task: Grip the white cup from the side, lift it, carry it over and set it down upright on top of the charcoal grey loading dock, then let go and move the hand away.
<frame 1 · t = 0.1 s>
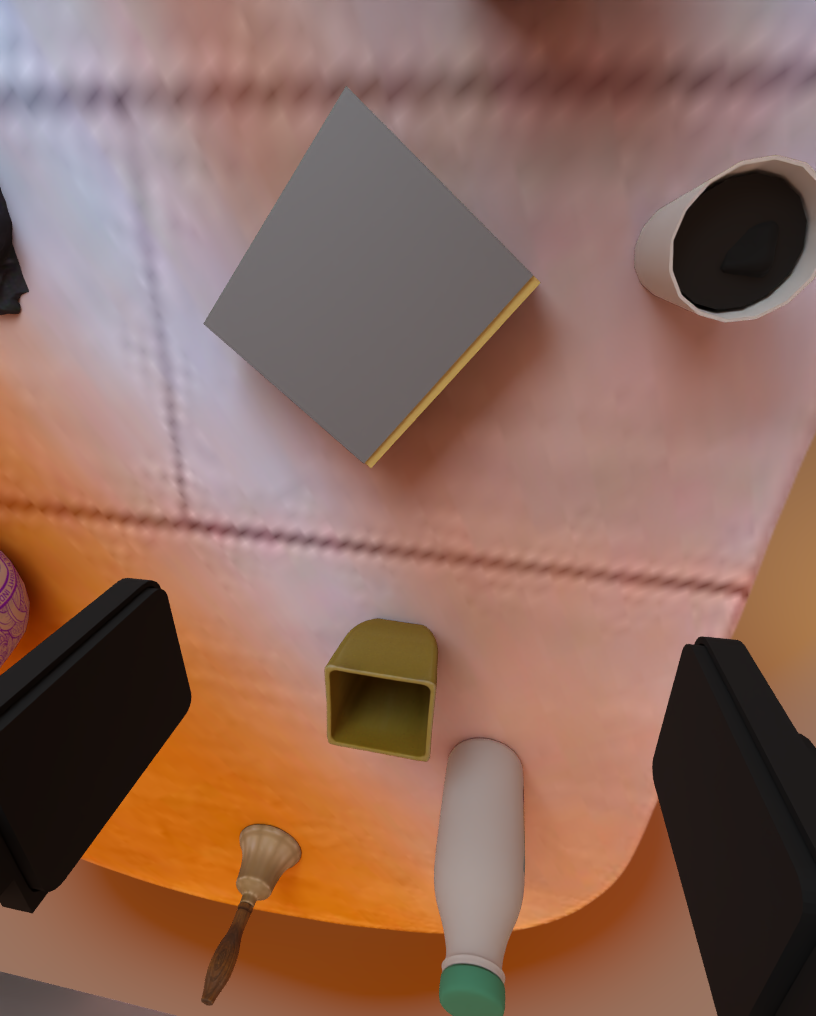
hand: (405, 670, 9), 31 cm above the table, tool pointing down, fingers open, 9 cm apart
loading dock: (375, 296, 37), on the table
white cup: (682, 249, 32), on the table
milk bottle: (485, 760, 54), on the table
hand bell: (271, 843, 67), on the table
flower pot: (400, 641, 49), on the table
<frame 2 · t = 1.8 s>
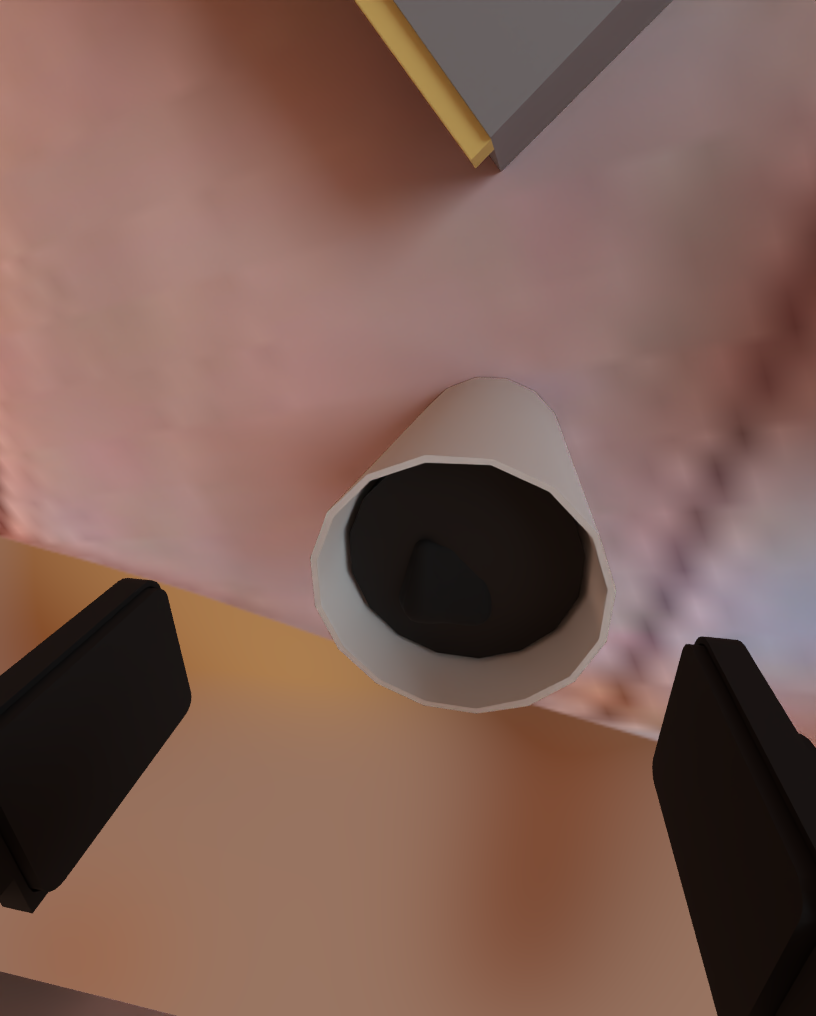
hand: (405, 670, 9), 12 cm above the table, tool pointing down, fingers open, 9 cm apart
white cup: (487, 450, 20), on the table
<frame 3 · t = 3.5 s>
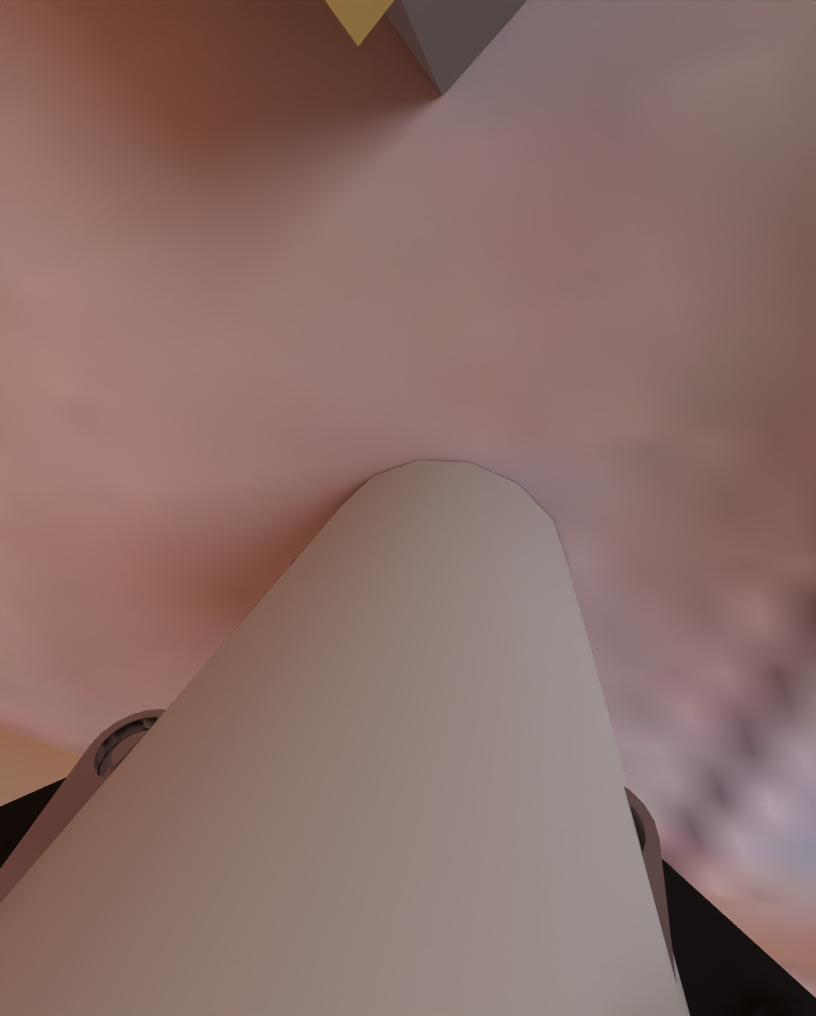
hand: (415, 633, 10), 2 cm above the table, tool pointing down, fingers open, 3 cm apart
white cup: (443, 568, 13), on the table, touching gripper
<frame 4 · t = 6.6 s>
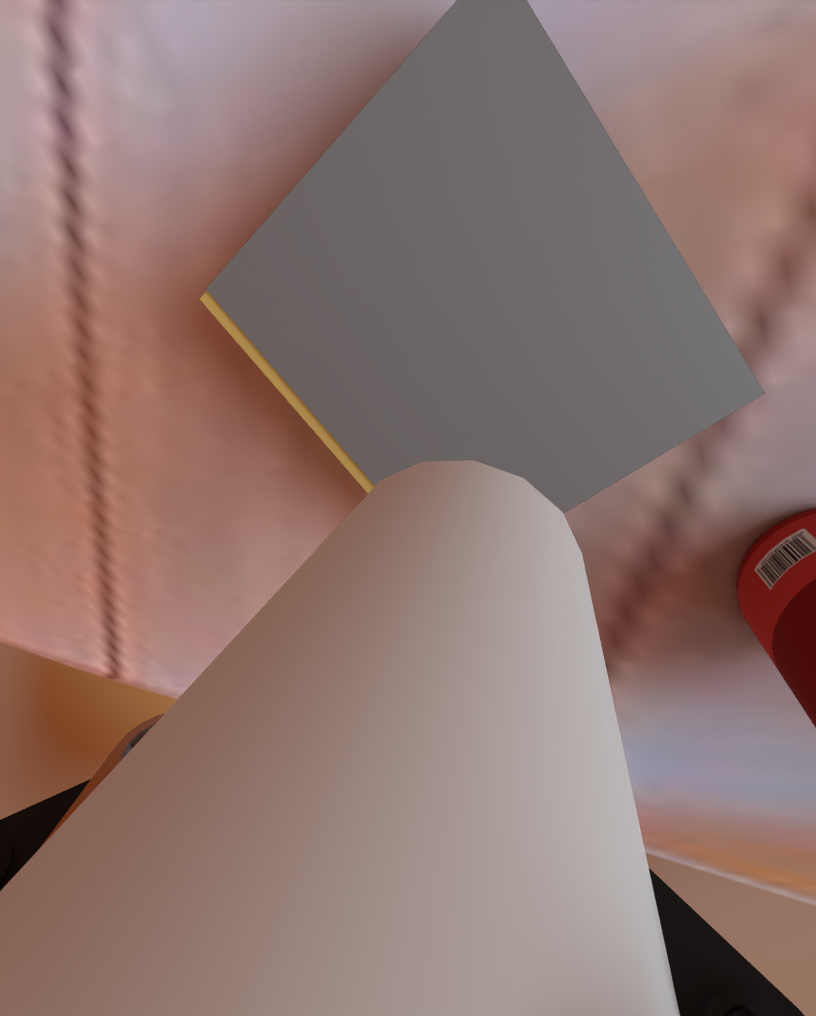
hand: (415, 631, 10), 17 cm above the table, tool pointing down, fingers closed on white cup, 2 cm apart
loading dock: (478, 324, 24), on the table
white cup: (458, 568, 13), point 15 cm above the table, touching gripper
canned food: (813, 571, 26), on the table
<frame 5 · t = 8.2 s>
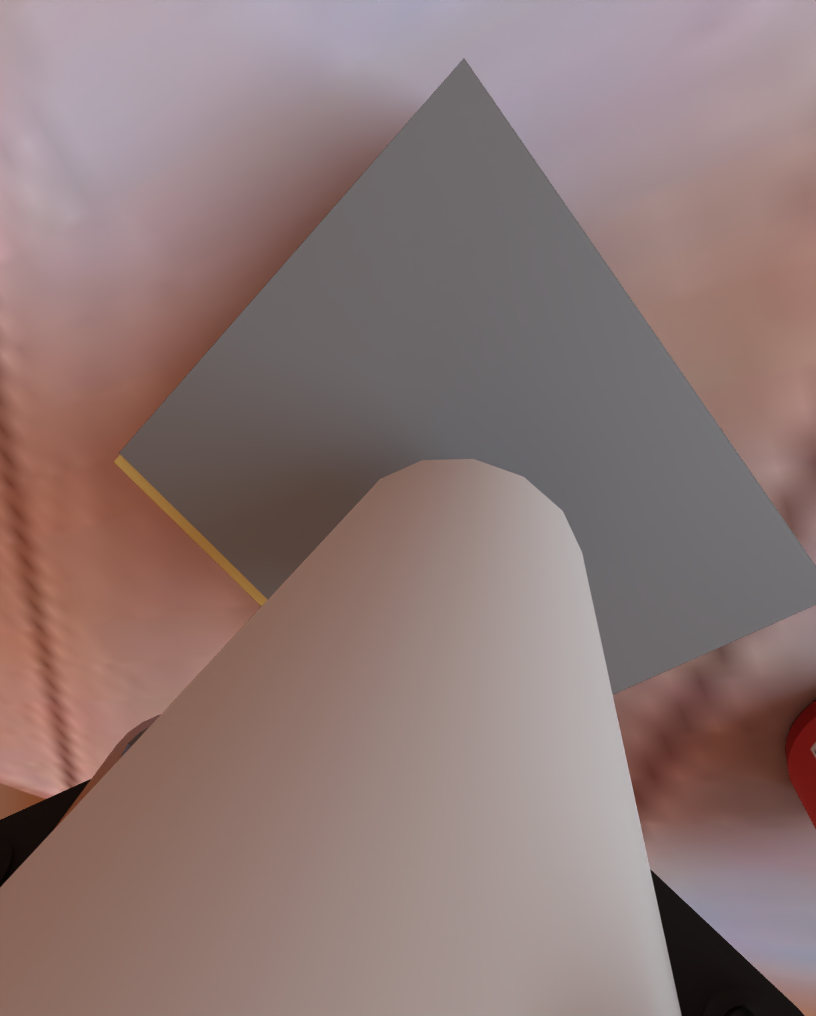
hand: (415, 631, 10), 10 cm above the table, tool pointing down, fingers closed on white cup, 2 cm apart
loading dock: (464, 461, 20), on the table
white cup: (458, 567, 13), point 8 cm above the table, touching gripper
when the fingers open (8 cm above the table, at t = 9.3 s): white cup stays where it is, resting on loading dock.
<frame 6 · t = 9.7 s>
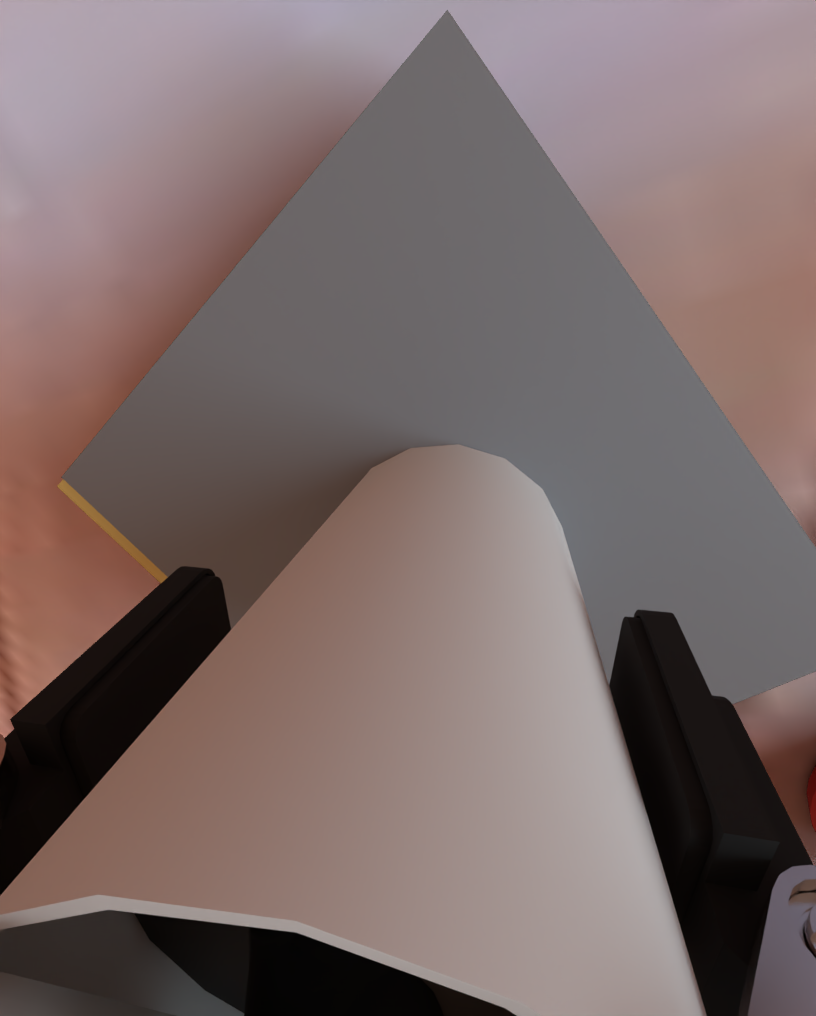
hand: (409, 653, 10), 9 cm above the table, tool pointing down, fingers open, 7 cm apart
loading dock: (455, 481, 18), on the table
white cup: (448, 548, 13), point 5 cm above the table, touching loading dock
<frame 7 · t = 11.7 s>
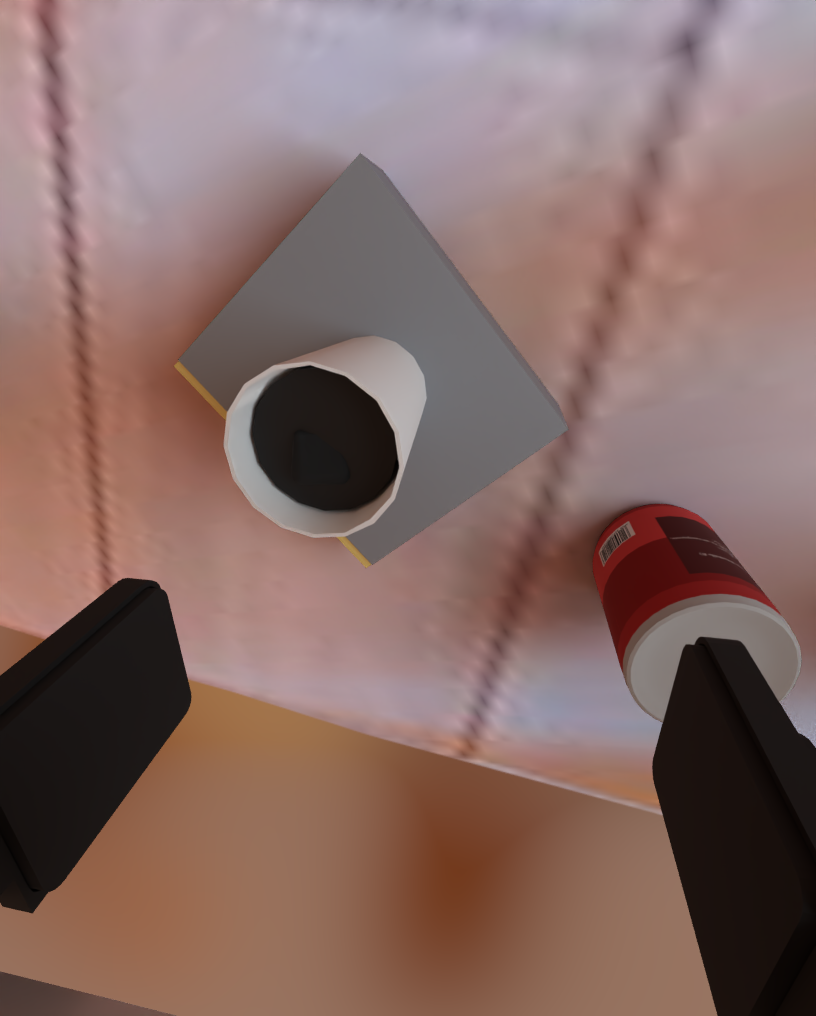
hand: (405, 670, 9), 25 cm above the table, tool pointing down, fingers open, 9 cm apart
loading dock: (385, 374, 32), on the table
white cup: (373, 391, 28), point 5 cm above the table, touching loading dock
canned food: (649, 552, 35), on the table
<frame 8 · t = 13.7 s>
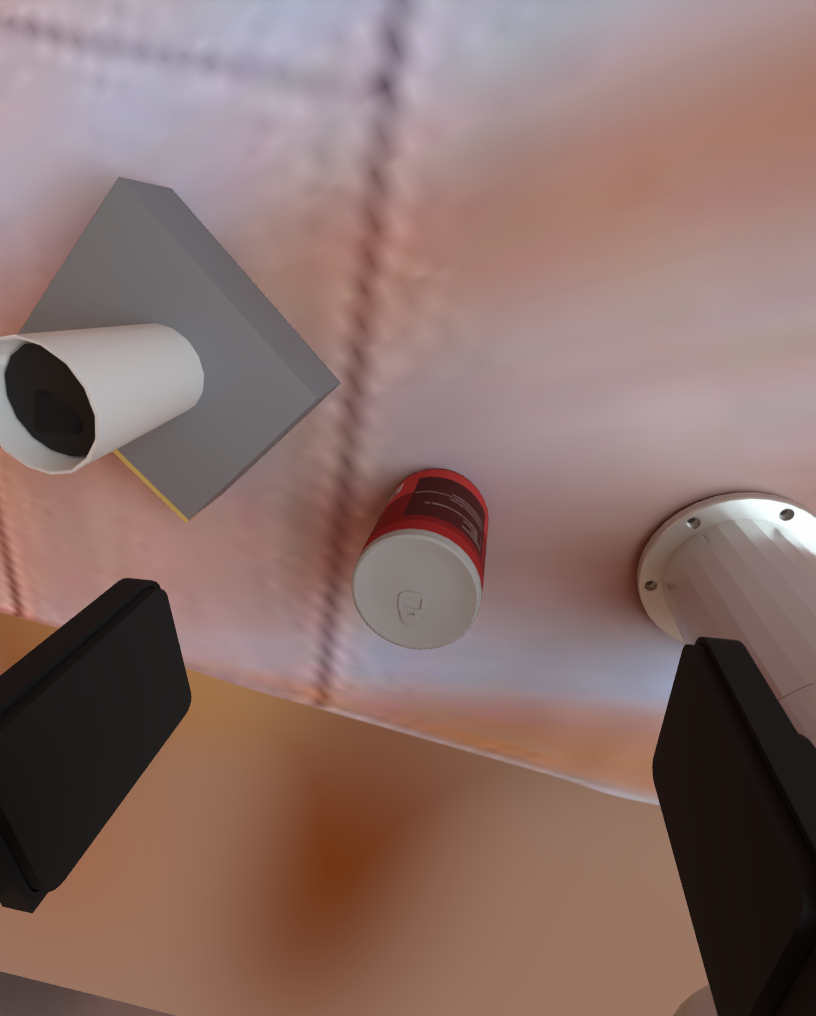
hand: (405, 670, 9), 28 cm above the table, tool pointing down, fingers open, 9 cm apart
loading dock: (200, 359, 38), on the table
white cup: (164, 369, 33), point 5 cm above the table, touching loading dock
canned food: (439, 513, 40), on the table
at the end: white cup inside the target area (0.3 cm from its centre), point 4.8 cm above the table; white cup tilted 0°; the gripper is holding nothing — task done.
